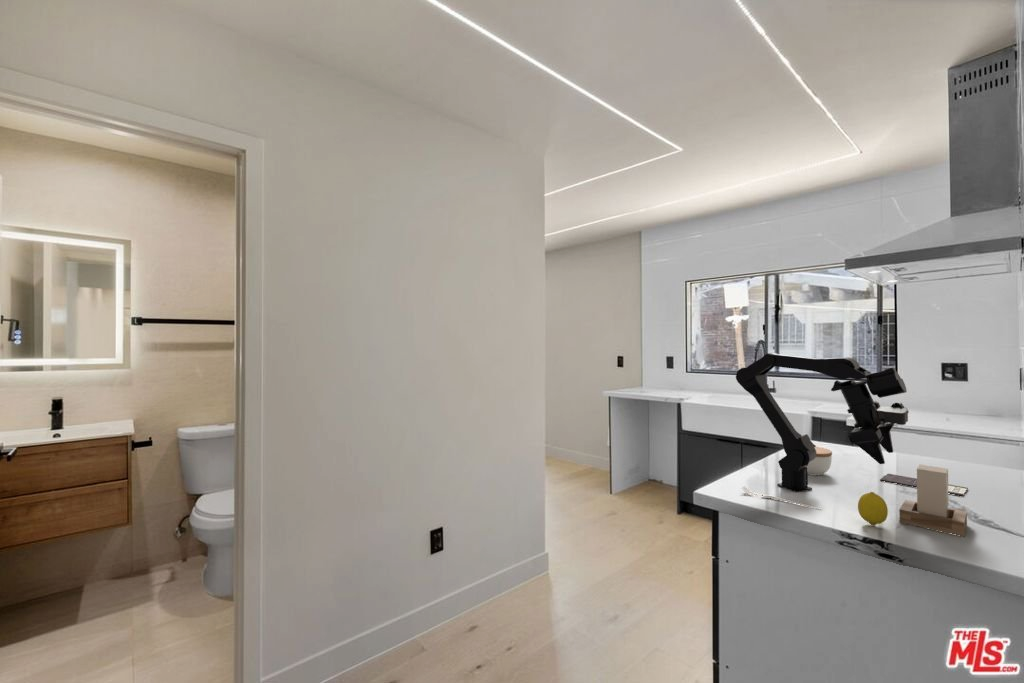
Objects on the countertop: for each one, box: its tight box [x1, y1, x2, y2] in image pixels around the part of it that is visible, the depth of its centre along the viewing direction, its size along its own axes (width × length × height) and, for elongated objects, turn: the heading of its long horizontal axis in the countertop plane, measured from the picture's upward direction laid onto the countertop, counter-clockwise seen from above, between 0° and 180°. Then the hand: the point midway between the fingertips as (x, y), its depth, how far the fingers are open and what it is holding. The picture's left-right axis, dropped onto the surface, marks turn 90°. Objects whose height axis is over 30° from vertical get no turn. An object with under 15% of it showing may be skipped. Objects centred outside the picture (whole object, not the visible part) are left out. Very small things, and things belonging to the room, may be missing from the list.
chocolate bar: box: [879, 473, 969, 497], centre depth 133 cm, size 9×1×18 cm
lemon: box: [857, 491, 889, 527], centre depth 106 cm, size 6×6×8 cm
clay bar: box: [916, 464, 949, 518], centre depth 107 cm, size 5×5×12 cm
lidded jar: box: [805, 446, 833, 477], centre depth 147 cm, size 11×11×9 cm
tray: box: [899, 499, 968, 538], centre depth 107 cm, size 9×11×3 cm
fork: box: [741, 486, 820, 510], centre depth 123 cm, size 3×20×2 cm, turn 45°
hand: (886, 458), depth 118 cm, fingers open, 9 cm apart
